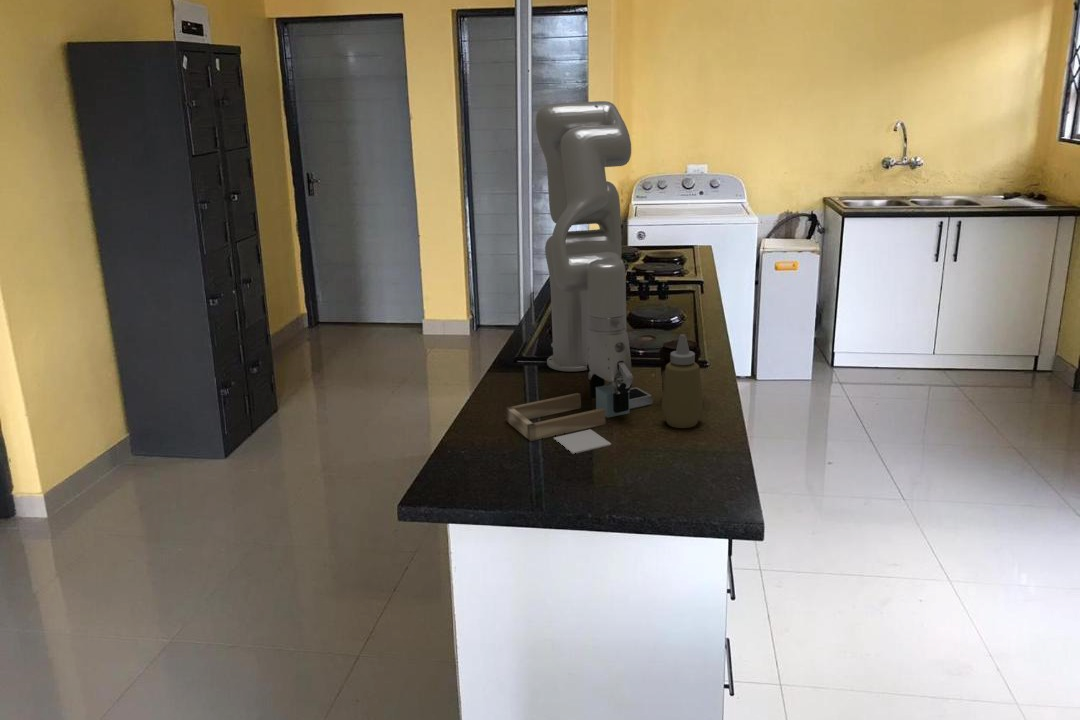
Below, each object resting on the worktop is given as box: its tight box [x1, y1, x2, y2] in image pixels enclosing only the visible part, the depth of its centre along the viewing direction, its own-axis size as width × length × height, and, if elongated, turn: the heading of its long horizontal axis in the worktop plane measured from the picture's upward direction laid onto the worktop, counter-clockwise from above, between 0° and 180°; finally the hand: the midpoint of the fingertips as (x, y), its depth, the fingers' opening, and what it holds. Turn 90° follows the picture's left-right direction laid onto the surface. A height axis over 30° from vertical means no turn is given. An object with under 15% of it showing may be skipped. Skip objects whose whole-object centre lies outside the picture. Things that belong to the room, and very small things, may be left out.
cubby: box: [505, 392, 606, 442], centre depth 171 cm, size 11×16×3 cm
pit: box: [629, 386, 653, 411], centre depth 180 cm, size 6×6×2 cm
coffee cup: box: [658, 339, 702, 392], centre depth 177 cm, size 9×8×13 cm
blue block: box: [595, 382, 630, 419], centre depth 176 cm, size 5×5×5 cm
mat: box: [553, 428, 612, 455], centre depth 162 cm, size 8×8×1 cm
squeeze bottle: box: [661, 333, 704, 429], centre depth 166 cm, size 8×8×18 cm
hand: (608, 404), depth 176 cm, fingers open, 9 cm apart
